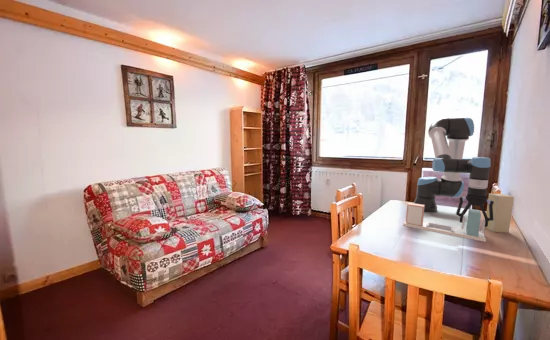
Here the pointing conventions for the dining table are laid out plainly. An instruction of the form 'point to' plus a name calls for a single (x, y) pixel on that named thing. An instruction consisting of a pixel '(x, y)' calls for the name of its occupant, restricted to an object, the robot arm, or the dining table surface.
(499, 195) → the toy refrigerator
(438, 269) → the dining table surface
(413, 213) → the terracotta carton
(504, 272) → the dining table surface
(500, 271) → the dining table surface
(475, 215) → the teal carton
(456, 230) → the shelf
